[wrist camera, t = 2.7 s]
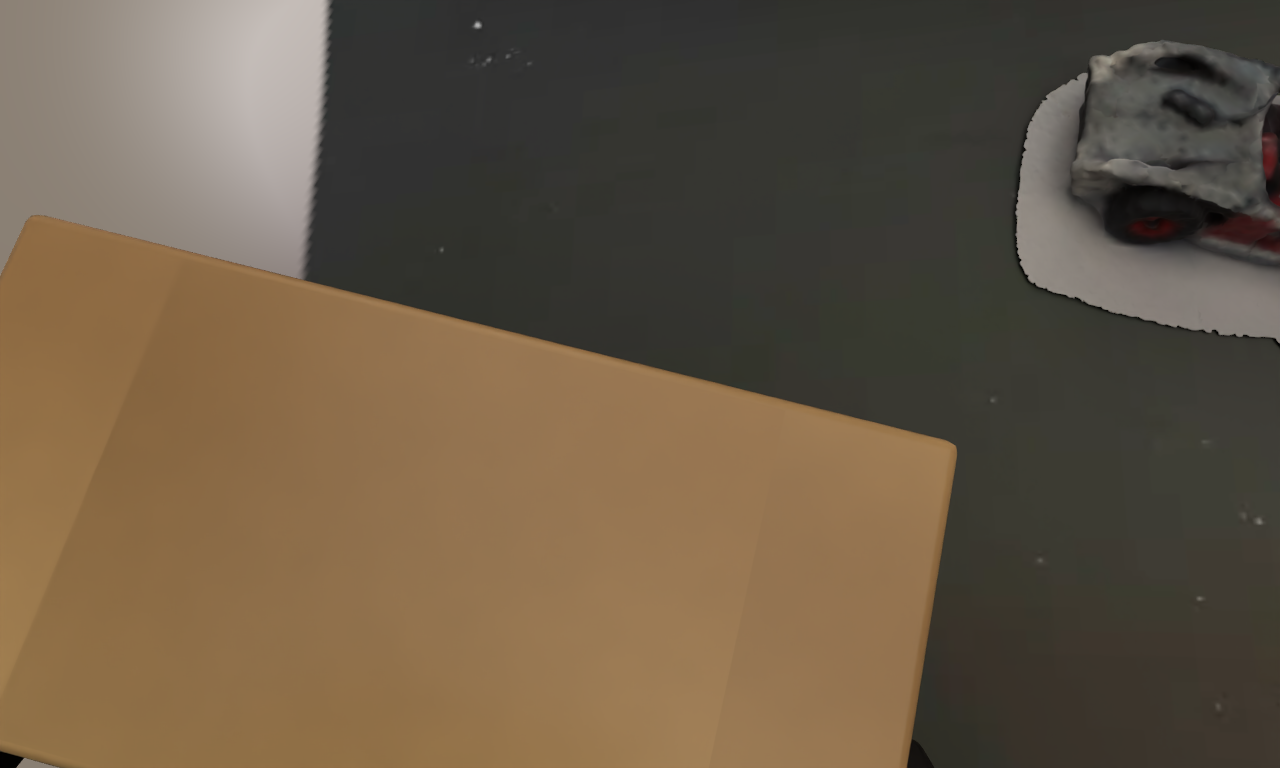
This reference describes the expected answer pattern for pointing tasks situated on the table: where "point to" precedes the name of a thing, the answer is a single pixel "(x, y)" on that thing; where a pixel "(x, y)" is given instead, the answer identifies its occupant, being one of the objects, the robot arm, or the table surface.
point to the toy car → (1159, 189)
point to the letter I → (427, 538)
